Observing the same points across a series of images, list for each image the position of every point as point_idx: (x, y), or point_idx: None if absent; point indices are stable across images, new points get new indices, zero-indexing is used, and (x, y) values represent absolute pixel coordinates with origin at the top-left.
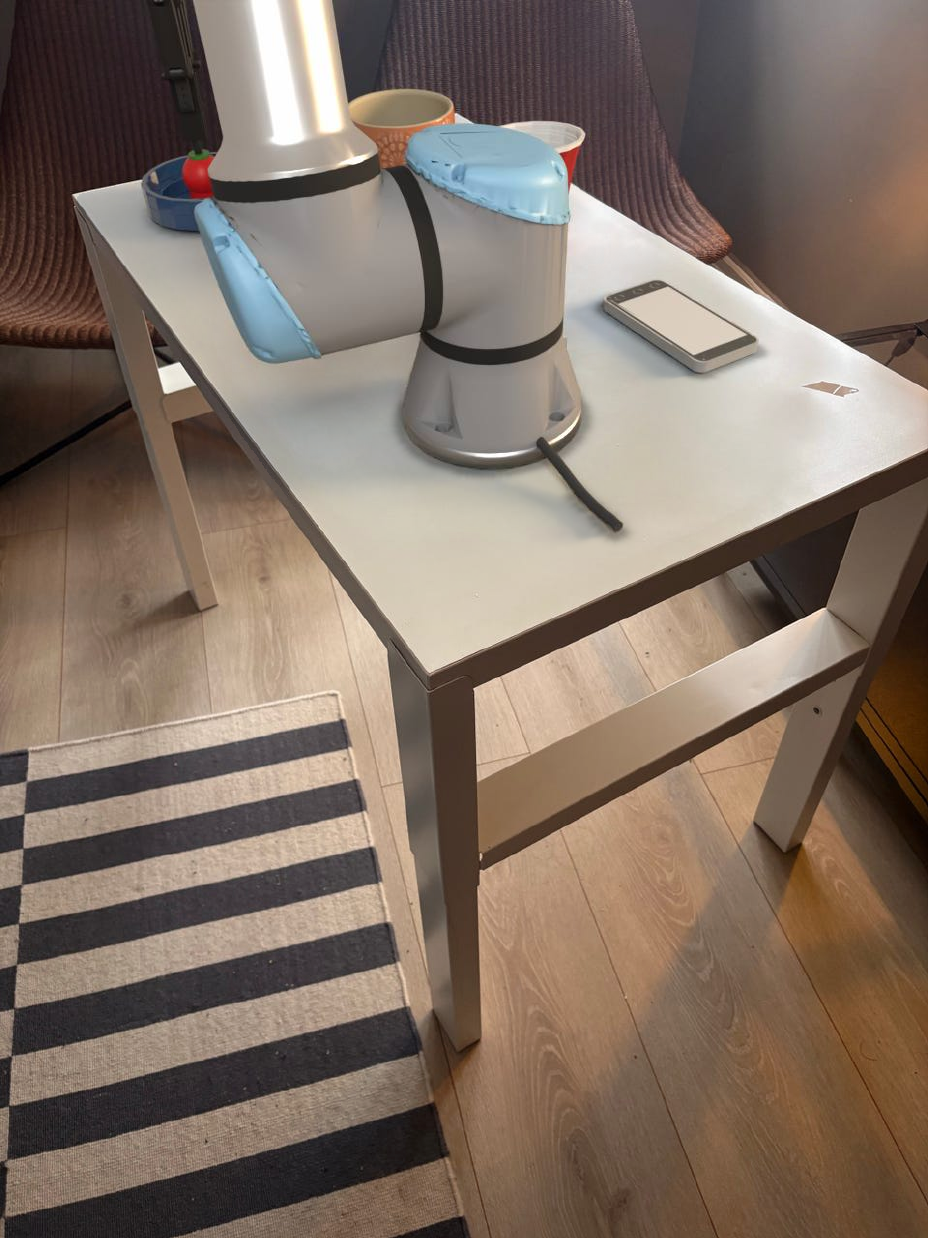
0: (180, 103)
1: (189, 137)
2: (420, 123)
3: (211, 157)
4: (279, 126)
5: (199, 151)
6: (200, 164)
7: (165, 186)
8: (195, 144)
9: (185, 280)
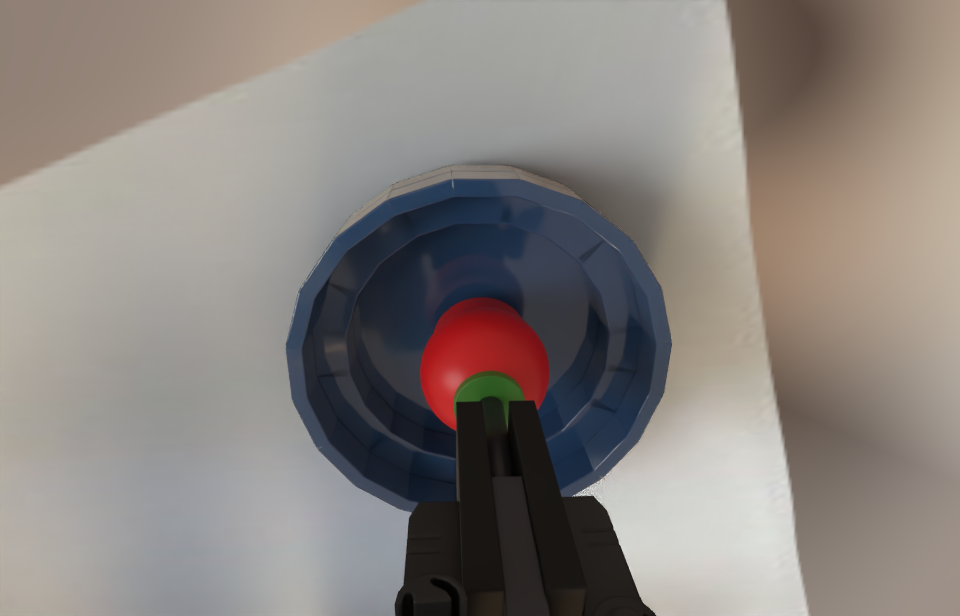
0: (409, 538)
1: (456, 433)
2: None
3: None
4: None
5: None
6: (440, 401)
7: (536, 230)
8: None
9: (40, 294)
